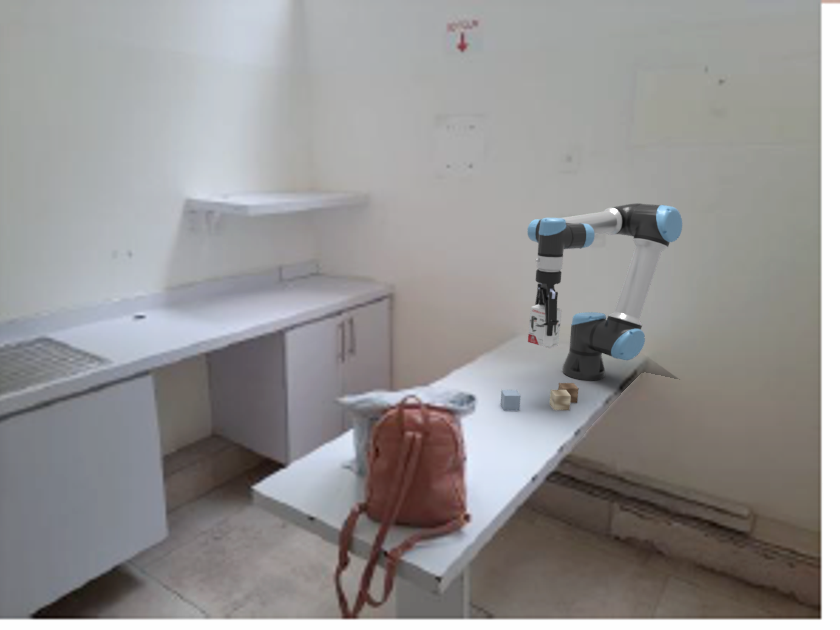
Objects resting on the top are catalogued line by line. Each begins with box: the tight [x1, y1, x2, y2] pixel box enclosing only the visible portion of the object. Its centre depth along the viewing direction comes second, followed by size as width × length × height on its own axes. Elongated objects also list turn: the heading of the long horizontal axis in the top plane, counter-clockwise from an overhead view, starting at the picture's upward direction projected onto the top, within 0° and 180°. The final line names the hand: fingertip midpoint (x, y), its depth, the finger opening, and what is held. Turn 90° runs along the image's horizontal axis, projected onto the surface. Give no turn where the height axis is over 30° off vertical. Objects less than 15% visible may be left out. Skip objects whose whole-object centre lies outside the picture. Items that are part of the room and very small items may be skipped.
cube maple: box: [548, 389, 571, 411], centre depth 183 cm, size 5×5×5 cm
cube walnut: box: [557, 382, 579, 404], centre depth 190 cm, size 5×5×5 cm
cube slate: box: [500, 389, 521, 411], centre depth 182 cm, size 5×5×5 cm
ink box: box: [527, 304, 563, 349], centre depth 179 cm, size 9×5×12 cm, turn 45°
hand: (543, 340), depth 180 cm, fingers closed on ink box, 9 cm apart
